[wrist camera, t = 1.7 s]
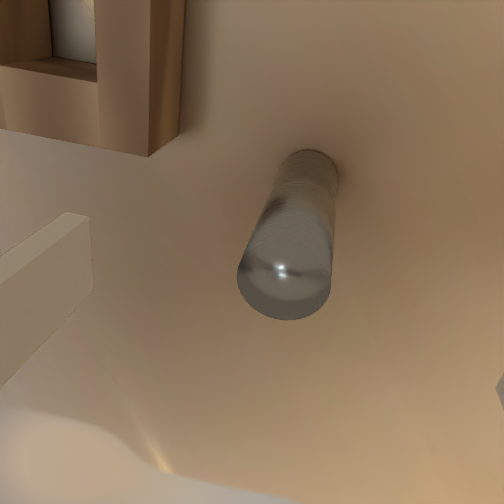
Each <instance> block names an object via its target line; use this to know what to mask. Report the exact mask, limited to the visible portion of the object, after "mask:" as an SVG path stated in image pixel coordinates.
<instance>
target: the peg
mask: <svg viewBox="0 0 504 504" xmlns="http://www.w3.org/2000/svg"><path fill="white" fill-rule="evenodd" d="M337 179H338V177H337V171H336V168H335V166H334V164H333V162H332V161H331V160H330V159H329V158H328V157H327V156H325V155H324V154H322V153H320V152H317V151H313V150H303V151H299V152H296V153H294V154H292V155H291V156H289V157H288V158H287V159H286V160H285V162H284V163H283V165H282V166H281V169H280V171H279V173H278V176H277V178H276V180H275V183H274V185H273V187H272V190H271V192H270V194H269V197H268V199H267V201H266V204H265V206H264V208H263V210H262V213H261V215H260V217H259V220H258V222H257V224H256V227H255V229H254V231H253V234H252V236H251V238H250V241H249V243H248V245H247V248H246V250H245V252H244V255H243V257H242V259H241V262H240V264H239V267H238V271H237V282H238V287H239V289H240V292H241V294H242V296H243V297H244V299H245V300H246V301H247V303H248V304H249V305H250V306H251V307H253V308H254V309H255V310H257V311H258V312H260V313H262V314H263V315H266V316H268V317H271V318H274V319H280V320H296V319H301V318H304V317H307V316H309V315H311V314H313V313H315V312H316V311H317V310H319V309H320V308H321V307H322V306H323V304H324V303H325V302H326V300H327V298H328V296H329V293H330V288H331V275H332V259H333V243H334V227H335V212H336V196H337Z"/></svg>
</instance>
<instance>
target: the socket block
mask: <svg viewBox="0 0 504 504" xmlns="http://www.w3.org/2000/svg"><path fill="white" fill-rule="evenodd" d="M184 10H185V0H94V12H95V36H96V60H97V64H91V63H86V62H80V61H74V60H69V59H63V58H57V57H52V46H51V34H50V23H49V11H48V0H0V128H1V129H6V130H11V131H17V132H22V133H27V134H32V135H37V136H42V137H47V138H52V139H58V140H63V141H68V142H73V143H78V144H83V145H88V146H93V147H98V148H104V149H109V150H114V151H119V152H124V153H129V154H134V155H139V156H144V157H149V156H151V155H152V154H153V153H155V152H156V151H157V150H159V149H160V148H161V147H163V146H164V145H166V144H167V143H168V142H170V141H171V140H172V139H174V138H175V137H177V136H178V133H179V112H180V92H181V71H182V51H183V30H184Z"/></svg>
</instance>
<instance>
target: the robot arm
mask: <svg viewBox="0 0 504 504" xmlns="http://www.w3.org/2000/svg"><path fill="white" fill-rule="evenodd" d="M92 291H93V276H92V259H91V242H90V225H89V217H88V216H84V215H79V214H75V213H70V212H65V213H63V214H62V215H60V216H59V217H57V218H56V219H54V220H53V221H51V222H50V223H48V224H47V225H46V226H44V227H43V228H41V229H40V230H38V231H37V232H35V233H34V234H32V235H31V236H30V237H28V238H27V239H25V240H24V241H22V242H21V243H19V244H18V245H16V246H15V247H14V248H12V249H11V250H9V251H8V252H6V253H5V254H3V255H2V256H0V388H1V387H2V386H3V385H4V384H5V383H6V382H7V381H8V380H9V378H10V377H11V376H12V375H13V374H14V373H15V372H16V371H17V370H18V369H19V368H20V367H21V366H22V365H23V364H24V363H25V362H26V361H27V359H28V358H29V357H30V356H31V355H32V354H33V353H34V352H35V351H36V350H37V349H38V348H39V347H40V346H41V345H42V344H43V343H44V342H45V340H46V339H47V338H48V337H49V336H50V335H51V334H52V333H53V332H54V331H55V330H56V329H57V328H58V327H59V326H60V325H61V324H62V323H63V321H64V320H65V319H66V318H67V317H68V316H69V315H70V314H71V313H72V312H73V311H74V310H75V309H76V308H77V307H78V306H79V305H80V304H81V303H82V301H83V300H84V299H85V298H86V297H87V296H88V295H89V294H90V293H91V292H92ZM495 388H496V390H497V393H498V396H499V398H500V401H501V404H502V406H503V409H504V373H503V375H502V377H501V379H500V380H499V382H498V384H497V386H496V387H495Z"/></svg>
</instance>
